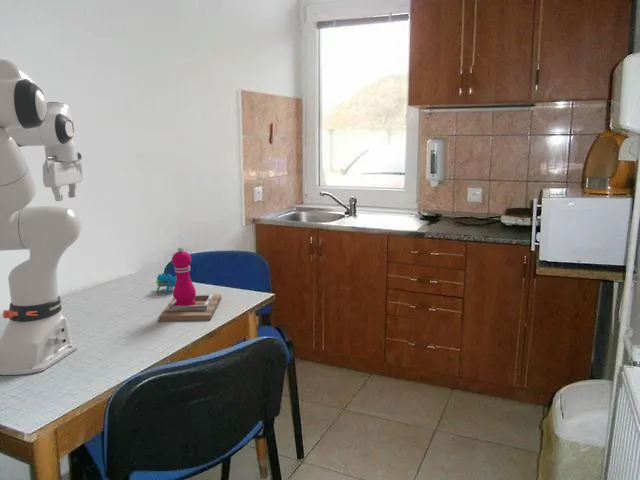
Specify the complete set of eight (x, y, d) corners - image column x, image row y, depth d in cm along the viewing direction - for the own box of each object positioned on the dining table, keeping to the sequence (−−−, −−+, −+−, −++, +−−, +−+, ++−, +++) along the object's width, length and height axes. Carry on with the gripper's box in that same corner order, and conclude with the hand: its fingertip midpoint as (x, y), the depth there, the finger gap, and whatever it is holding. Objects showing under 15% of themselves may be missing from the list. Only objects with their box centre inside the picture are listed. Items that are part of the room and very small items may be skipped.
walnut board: (210, 319, 164) (210, 310, 164) (159, 321, 164) (158, 311, 163) (221, 298, 186) (221, 290, 185) (175, 299, 185) (175, 291, 185)
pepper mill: (188, 311, 168) (183, 250, 164) (169, 309, 170) (164, 248, 166) (201, 303, 175) (196, 245, 171) (182, 302, 177) (177, 244, 173)
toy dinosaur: (189, 284, 198) (174, 271, 190) (184, 298, 194) (168, 285, 187) (166, 285, 202) (150, 272, 195) (161, 299, 199) (144, 286, 192)
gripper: (55, 156, 157) (61, 202, 159) (84, 154, 177) (88, 195, 179) (34, 156, 156) (39, 203, 159) (65, 154, 176) (69, 195, 179)
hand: (65, 199), depth 169 cm, fingers open, 8 cm apart
